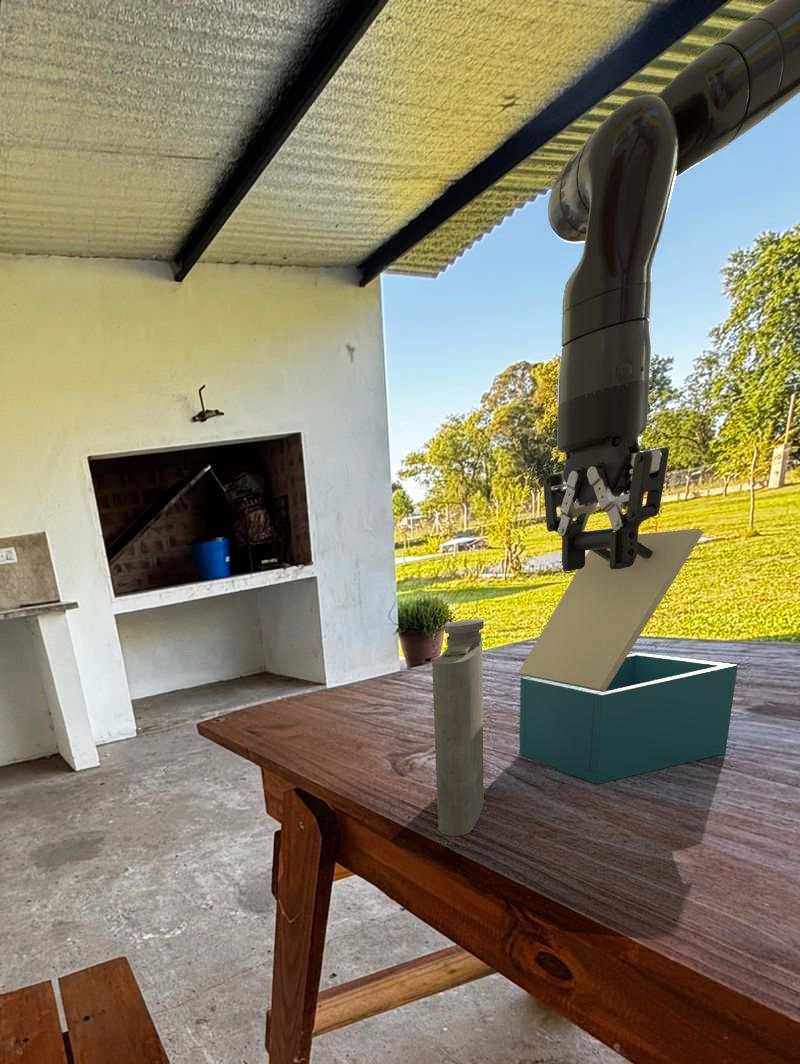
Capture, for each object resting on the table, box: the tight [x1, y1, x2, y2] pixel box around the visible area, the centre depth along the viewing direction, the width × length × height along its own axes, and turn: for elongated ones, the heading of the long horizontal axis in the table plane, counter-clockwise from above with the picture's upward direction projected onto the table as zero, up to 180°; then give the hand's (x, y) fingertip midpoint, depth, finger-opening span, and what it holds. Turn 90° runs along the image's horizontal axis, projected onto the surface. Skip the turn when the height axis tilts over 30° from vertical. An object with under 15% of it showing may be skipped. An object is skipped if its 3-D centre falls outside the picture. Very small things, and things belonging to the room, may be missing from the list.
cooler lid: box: [518, 527, 704, 692], centre depth 67 cm, size 17×13×6 cm
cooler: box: [519, 652, 739, 785], centre depth 72 cm, size 16×13×10 cm
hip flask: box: [431, 618, 485, 837], centre depth 64 cm, size 16×4×20 cm, turn 154°
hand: (596, 568), depth 66 cm, fingers closed on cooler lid, 6 cm apart
